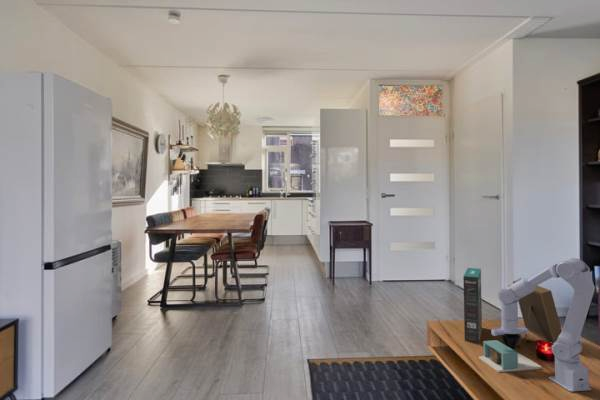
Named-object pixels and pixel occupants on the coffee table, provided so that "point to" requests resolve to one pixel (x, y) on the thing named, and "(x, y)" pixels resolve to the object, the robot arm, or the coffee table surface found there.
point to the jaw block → (495, 356)
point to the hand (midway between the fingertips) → (510, 352)
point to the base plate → (522, 365)
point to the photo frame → (540, 314)
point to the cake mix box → (472, 305)
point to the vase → (518, 341)
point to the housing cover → (502, 353)
